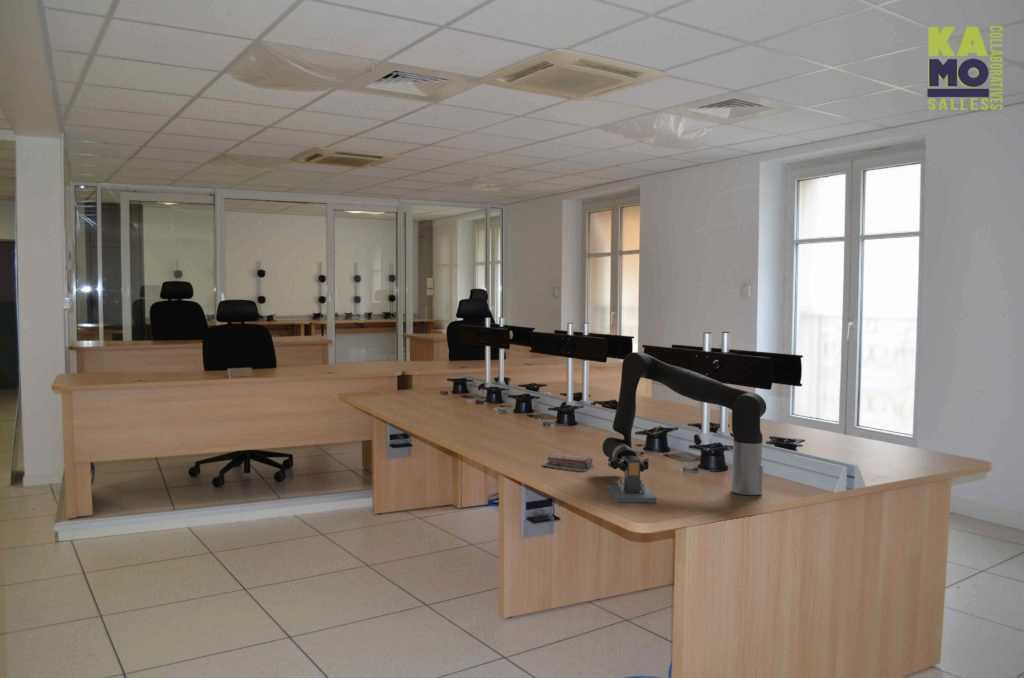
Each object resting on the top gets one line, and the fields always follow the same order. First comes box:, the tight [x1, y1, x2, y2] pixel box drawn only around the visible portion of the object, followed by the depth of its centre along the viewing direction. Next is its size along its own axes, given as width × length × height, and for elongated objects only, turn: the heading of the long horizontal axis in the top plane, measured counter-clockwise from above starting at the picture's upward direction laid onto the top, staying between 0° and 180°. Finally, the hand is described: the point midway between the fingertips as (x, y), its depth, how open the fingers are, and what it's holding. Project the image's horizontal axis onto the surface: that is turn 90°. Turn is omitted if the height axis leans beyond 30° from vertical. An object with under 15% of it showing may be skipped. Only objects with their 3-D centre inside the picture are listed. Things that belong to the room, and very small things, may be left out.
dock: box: [607, 479, 657, 504], centre depth 245 cm, size 13×16×4 cm
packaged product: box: [541, 452, 595, 473], centre depth 287 cm, size 18×5×10 cm
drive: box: [623, 455, 641, 494], centre depth 245 cm, size 4×6×11 cm, turn 1°
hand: (633, 468), depth 242 cm, fingers open, 5 cm apart
